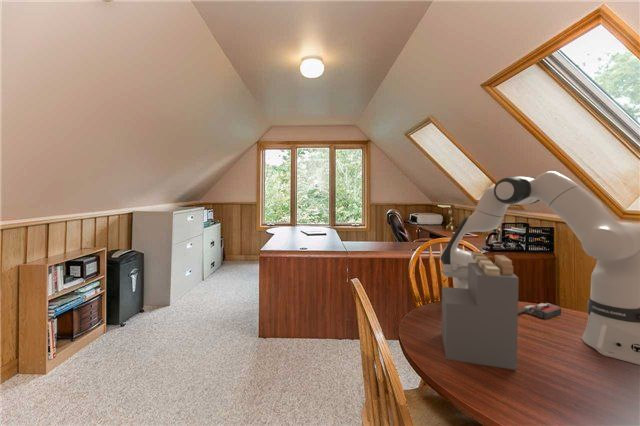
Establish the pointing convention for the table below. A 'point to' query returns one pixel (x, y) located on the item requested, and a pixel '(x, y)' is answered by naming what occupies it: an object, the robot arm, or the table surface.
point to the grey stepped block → (482, 317)
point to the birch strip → (485, 264)
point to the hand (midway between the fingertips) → (471, 266)
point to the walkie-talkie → (542, 310)
